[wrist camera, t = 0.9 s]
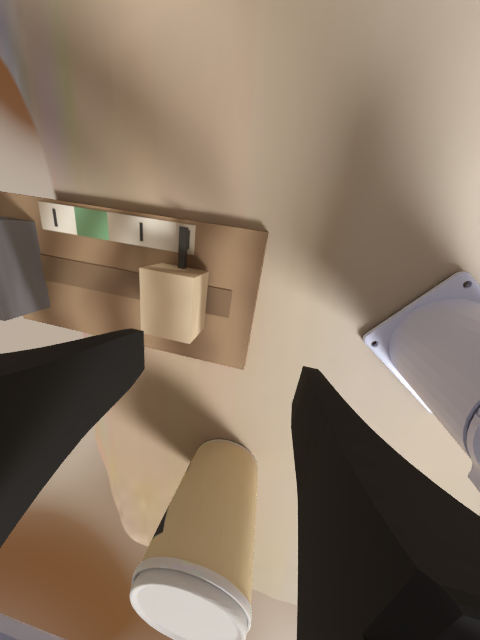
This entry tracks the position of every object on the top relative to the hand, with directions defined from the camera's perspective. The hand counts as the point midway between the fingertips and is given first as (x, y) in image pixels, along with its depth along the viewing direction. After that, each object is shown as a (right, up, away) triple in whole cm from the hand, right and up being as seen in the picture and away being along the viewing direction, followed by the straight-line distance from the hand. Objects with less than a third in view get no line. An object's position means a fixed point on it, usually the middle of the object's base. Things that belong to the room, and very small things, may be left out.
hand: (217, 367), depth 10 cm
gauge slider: (-4, +5, +8) cm, 11 cm away
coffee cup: (-1, -15, +17) cm, 23 cm away
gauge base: (-9, +6, +11) cm, 16 cm away
